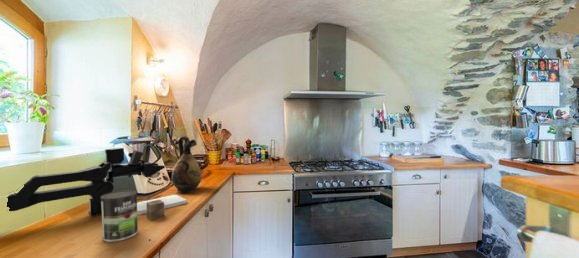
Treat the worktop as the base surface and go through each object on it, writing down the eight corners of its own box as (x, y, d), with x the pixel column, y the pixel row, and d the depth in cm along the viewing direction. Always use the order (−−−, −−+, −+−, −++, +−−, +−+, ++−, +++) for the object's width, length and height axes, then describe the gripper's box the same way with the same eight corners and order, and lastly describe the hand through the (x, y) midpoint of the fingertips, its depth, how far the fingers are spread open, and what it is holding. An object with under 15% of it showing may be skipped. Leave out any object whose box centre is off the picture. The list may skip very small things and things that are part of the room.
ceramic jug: (208, 189, 146) (206, 135, 144) (184, 196, 132) (182, 137, 131) (188, 185, 154) (186, 135, 153) (164, 191, 141) (162, 136, 140)
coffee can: (144, 232, 90) (142, 192, 90) (111, 245, 82) (109, 200, 81) (128, 226, 96) (127, 188, 95) (96, 237, 87) (94, 195, 86)
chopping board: (139, 214, 107) (139, 211, 107) (130, 207, 117) (130, 204, 117) (186, 203, 122) (186, 200, 121) (175, 197, 131) (175, 194, 131)
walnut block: (151, 220, 101) (150, 205, 101) (147, 217, 105) (146, 202, 105) (164, 216, 105) (164, 202, 105) (160, 213, 108) (159, 199, 108)
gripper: (129, 154, 110) (167, 150, 121) (118, 150, 123) (154, 148, 134) (130, 180, 110) (168, 174, 121) (119, 174, 124) (155, 169, 135)
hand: (161, 165), depth 128 cm, fingers open, 9 cm apart
